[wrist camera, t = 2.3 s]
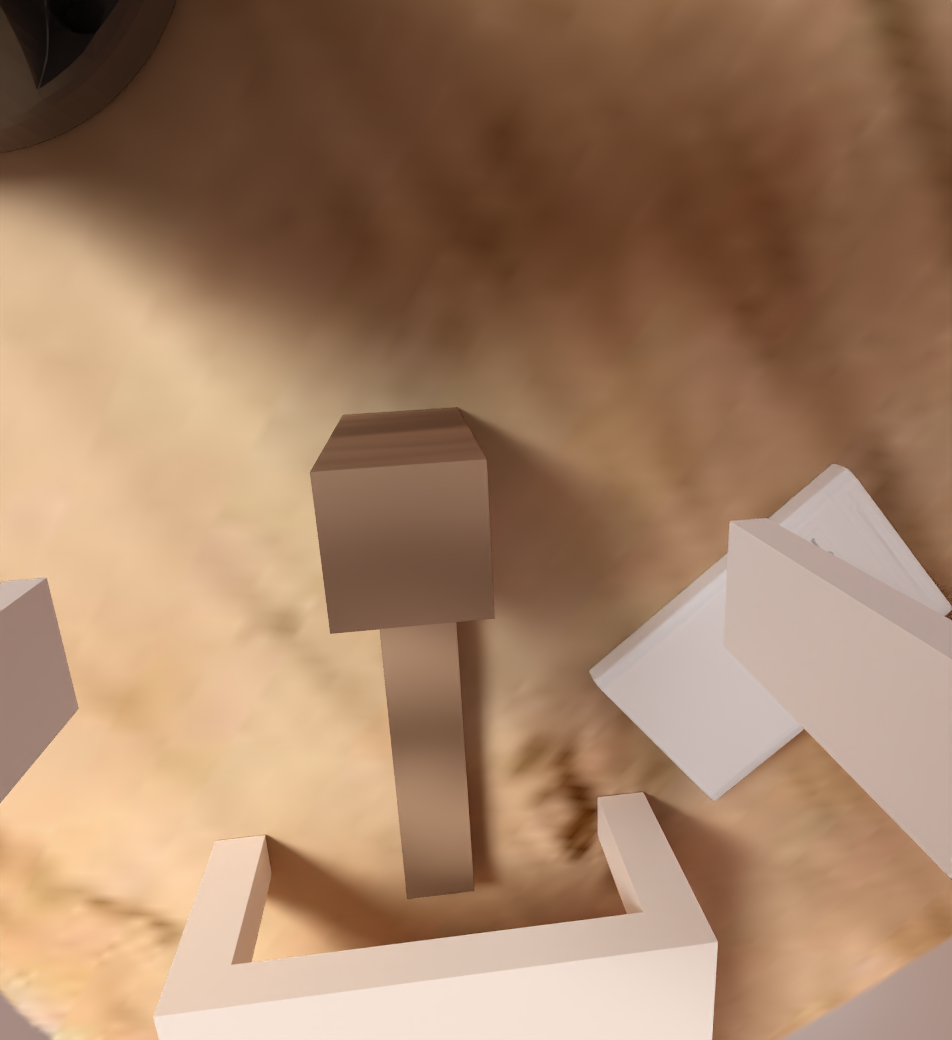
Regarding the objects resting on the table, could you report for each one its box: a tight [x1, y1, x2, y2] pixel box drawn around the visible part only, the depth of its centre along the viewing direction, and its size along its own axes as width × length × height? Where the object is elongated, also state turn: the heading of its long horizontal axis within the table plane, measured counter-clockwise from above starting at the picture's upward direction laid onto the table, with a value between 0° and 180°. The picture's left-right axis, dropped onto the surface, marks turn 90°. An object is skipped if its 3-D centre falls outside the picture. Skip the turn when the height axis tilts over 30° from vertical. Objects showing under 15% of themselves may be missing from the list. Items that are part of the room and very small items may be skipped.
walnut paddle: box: [310, 407, 495, 899], centre depth 23 cm, size 20×4×9 cm, turn 3°
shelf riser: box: [153, 792, 718, 1040], centre depth 28 cm, size 12×18×8 cm, turn 93°
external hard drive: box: [589, 463, 952, 801], centre depth 28 cm, size 2×8×12 cm
